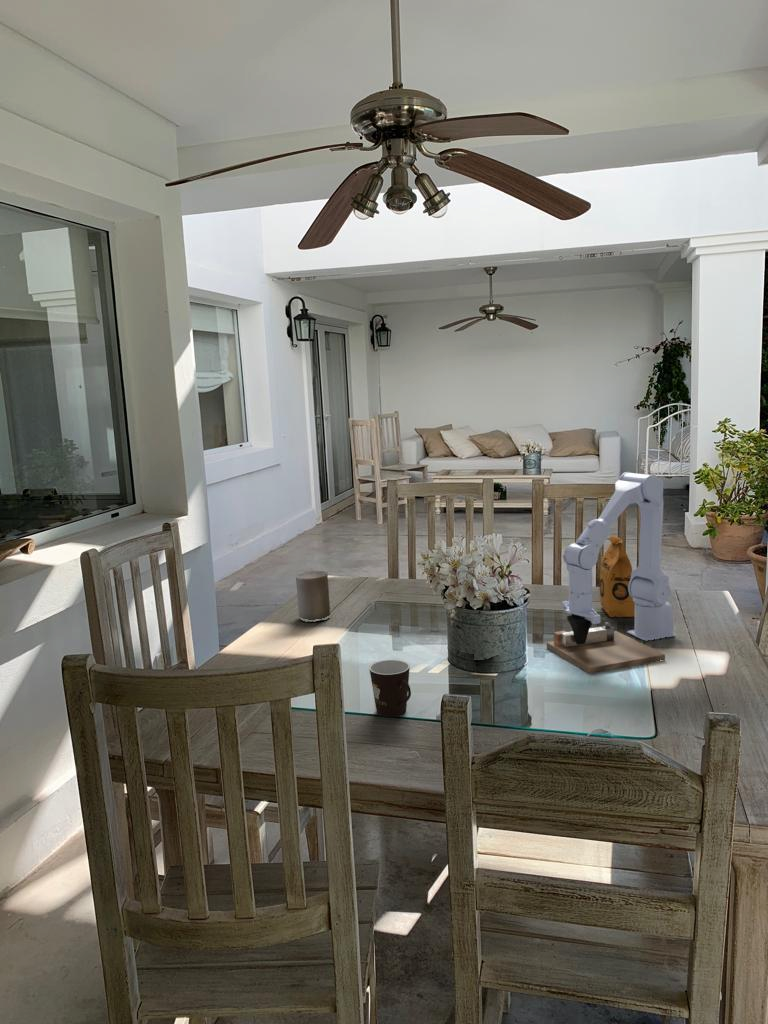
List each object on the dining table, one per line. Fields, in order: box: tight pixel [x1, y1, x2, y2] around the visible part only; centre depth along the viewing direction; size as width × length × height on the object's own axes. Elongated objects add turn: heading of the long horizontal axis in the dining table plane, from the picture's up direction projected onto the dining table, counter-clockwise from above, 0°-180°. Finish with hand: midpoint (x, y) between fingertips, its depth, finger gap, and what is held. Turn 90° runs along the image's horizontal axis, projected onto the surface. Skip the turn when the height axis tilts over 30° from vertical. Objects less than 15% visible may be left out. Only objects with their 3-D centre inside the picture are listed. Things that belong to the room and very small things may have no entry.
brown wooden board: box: [546, 630, 666, 675], centre depth 197 cm, size 21×20×4 cm
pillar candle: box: [295, 570, 331, 620], centre depth 237 cm, size 10×10×15 cm
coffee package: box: [598, 534, 635, 618], centre depth 229 cm, size 10×12×22 cm
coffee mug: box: [368, 659, 412, 719], centre depth 167 cm, size 12×9×10 cm
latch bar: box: [561, 621, 615, 647], centre depth 201 cm, size 15×3×4 cm, turn 108°
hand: (580, 643), depth 198 cm, fingers closed
